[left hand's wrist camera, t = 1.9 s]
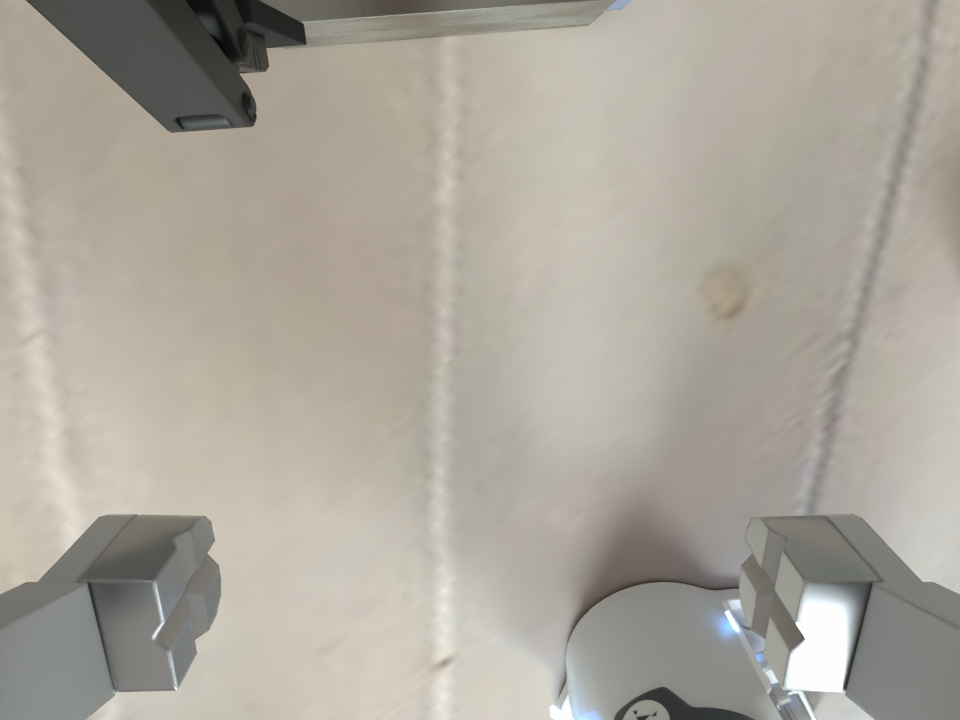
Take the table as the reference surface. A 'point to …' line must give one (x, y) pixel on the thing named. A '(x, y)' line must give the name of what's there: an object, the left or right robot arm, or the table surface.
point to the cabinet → (430, 17)
